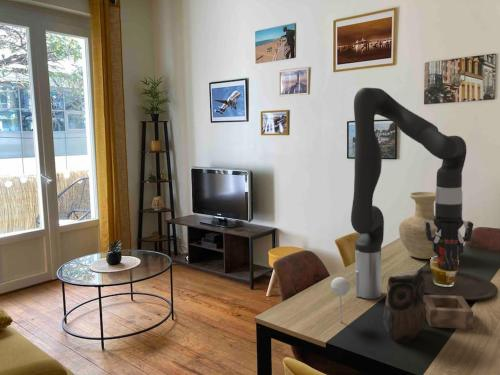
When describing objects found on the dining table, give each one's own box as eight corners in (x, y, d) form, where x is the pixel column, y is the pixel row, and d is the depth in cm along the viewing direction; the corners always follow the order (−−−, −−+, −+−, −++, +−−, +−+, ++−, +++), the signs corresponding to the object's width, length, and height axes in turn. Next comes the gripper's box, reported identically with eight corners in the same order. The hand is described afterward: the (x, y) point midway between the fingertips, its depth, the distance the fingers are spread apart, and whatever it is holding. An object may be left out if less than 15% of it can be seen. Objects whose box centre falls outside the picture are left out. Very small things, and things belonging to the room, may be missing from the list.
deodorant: (460, 271, 127) (461, 223, 125) (439, 271, 128) (440, 223, 126) (454, 265, 133) (455, 219, 131) (435, 264, 134) (435, 219, 132)
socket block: (430, 326, 128) (430, 309, 127) (422, 310, 140) (423, 294, 139) (472, 329, 125) (473, 311, 125) (461, 311, 137) (462, 296, 136)
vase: (406, 247, 211) (406, 189, 207) (454, 253, 198) (456, 191, 194) (392, 259, 193) (392, 196, 189) (445, 267, 180) (446, 199, 176)
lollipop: (346, 328, 130) (345, 282, 128) (328, 324, 133) (327, 279, 131) (352, 319, 135) (352, 275, 133) (335, 316, 138) (334, 273, 136)
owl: (426, 327, 128) (426, 264, 125) (427, 347, 116) (428, 279, 114) (383, 322, 133) (383, 261, 130) (380, 341, 121) (380, 275, 118)
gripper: (426, 203, 126) (425, 257, 128) (478, 203, 122) (476, 258, 125) (421, 199, 133) (421, 250, 135) (470, 198, 130) (469, 250, 132)
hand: (447, 253), depth 130 cm, fingers closed on deodorant, 6 cm apart
